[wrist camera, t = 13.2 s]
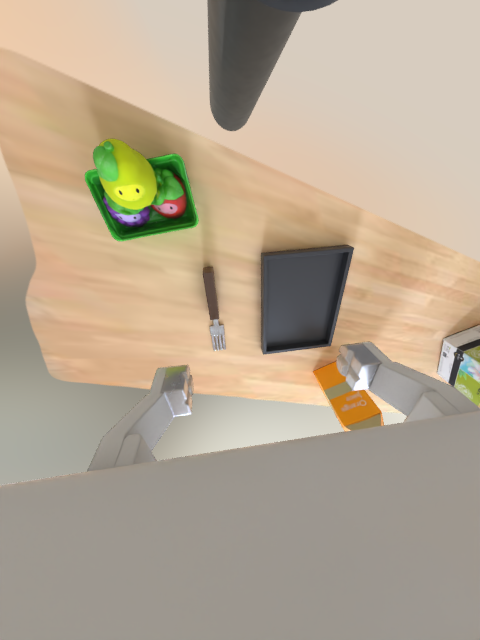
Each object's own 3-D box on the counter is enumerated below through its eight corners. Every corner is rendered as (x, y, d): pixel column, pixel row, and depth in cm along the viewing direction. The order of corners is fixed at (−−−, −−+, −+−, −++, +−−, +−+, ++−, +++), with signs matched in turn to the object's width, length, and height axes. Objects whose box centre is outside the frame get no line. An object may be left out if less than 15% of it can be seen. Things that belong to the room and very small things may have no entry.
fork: (199, 267, 34) (199, 273, 32) (216, 266, 35) (216, 271, 32) (213, 349, 44) (213, 358, 42) (226, 348, 45) (226, 356, 42)
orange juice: (341, 358, 51) (405, 440, 34) (347, 378, 55) (406, 459, 39) (312, 371, 52) (360, 456, 35) (320, 390, 57) (366, 473, 40)
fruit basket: (128, 236, 31) (91, 255, 21) (96, 163, 26) (29, 147, 16) (201, 221, 31) (197, 234, 21) (183, 146, 26) (166, 119, 16)
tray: (261, 252, 34) (263, 255, 33) (347, 244, 35) (354, 247, 34) (261, 348, 46) (263, 354, 44) (326, 340, 47) (330, 346, 45)
